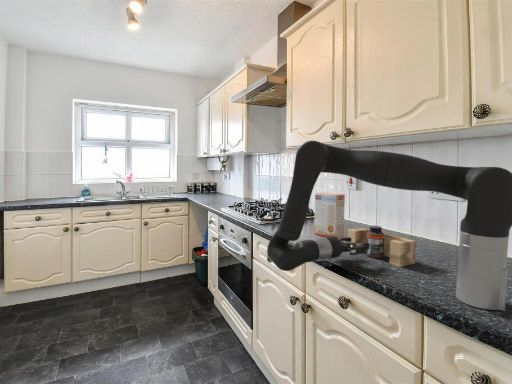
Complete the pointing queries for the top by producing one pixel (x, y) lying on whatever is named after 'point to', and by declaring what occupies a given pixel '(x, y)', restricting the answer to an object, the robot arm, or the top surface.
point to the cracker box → (329, 214)
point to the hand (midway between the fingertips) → (359, 242)
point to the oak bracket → (389, 246)
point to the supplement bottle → (375, 242)
